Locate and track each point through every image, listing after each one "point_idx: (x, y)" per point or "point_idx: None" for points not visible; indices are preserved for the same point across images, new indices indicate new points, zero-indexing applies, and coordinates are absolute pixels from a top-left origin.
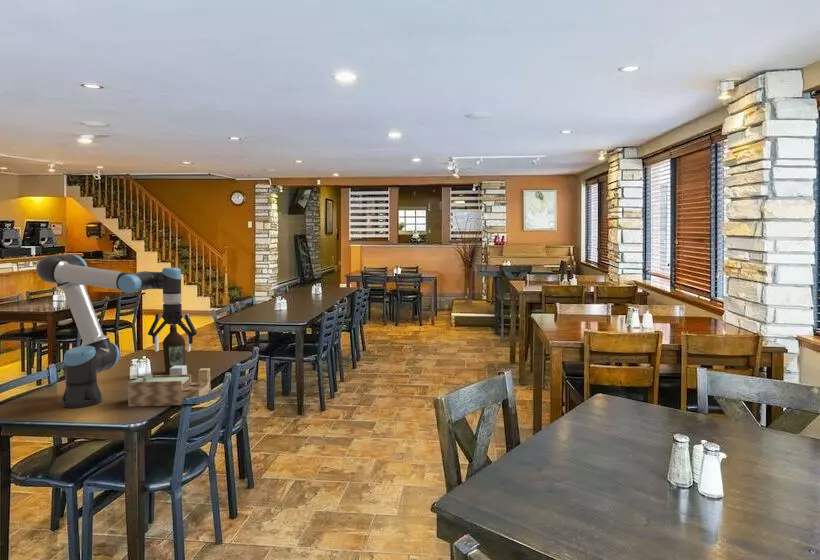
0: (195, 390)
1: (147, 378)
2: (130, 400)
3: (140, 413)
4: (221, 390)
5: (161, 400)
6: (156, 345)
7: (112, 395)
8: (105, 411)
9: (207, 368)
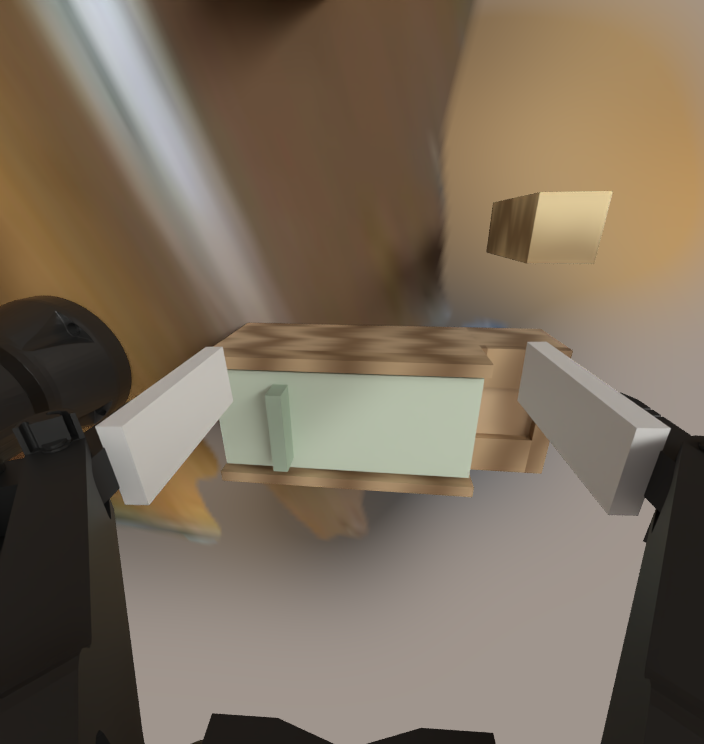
0: (524, 470)
1: (288, 449)
2: None
3: (338, 495)
4: None
5: None
6: (204, 433)
7: (102, 263)
8: (215, 462)
9: (594, 195)
